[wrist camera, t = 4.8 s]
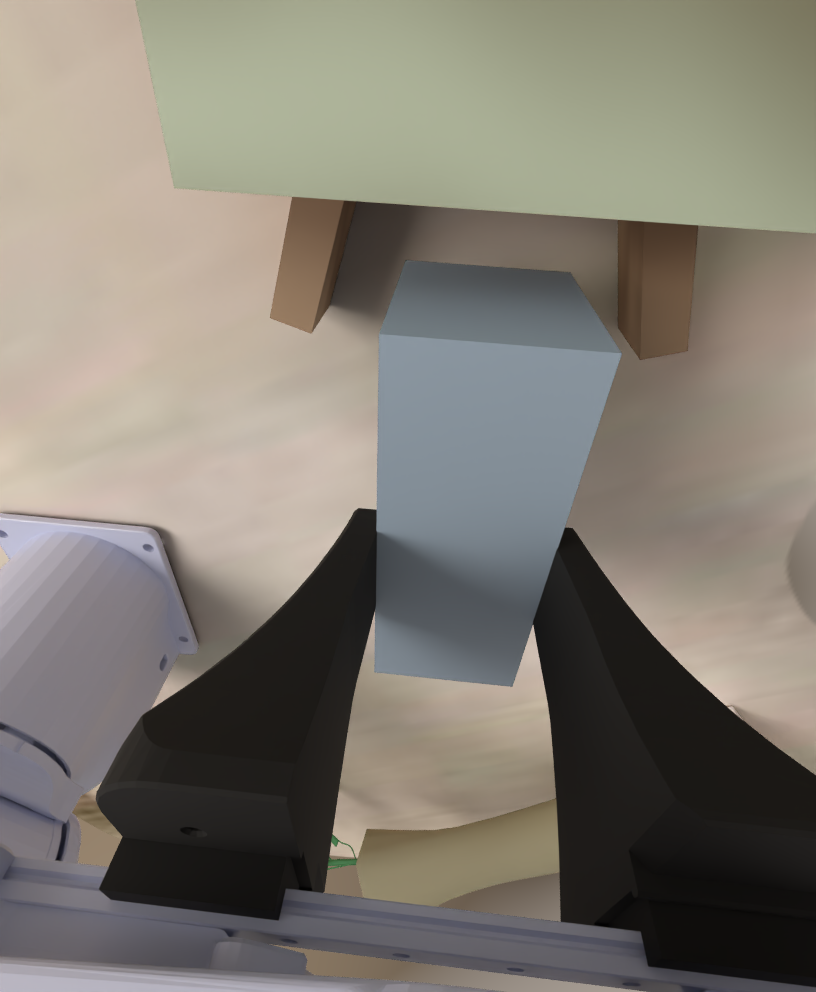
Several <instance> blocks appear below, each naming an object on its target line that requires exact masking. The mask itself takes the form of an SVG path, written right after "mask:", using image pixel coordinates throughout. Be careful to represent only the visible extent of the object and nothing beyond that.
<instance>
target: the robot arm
mask: <svg viewBox="0 0 816 992" xmlns="http://www.w3.org/2000/svg"><path fill="white" fill-rule="evenodd" d="M376 525H377V510H373V509H362V508H358V509H357V510H356V511H354V513H353V515H352V517H351V519H350V520H349V522H348V524H347V525H346V527H345V528H344V530H343V532H342V533H341V535H340V536H339V538H338V539H337V540H336V542H335V543H334V545H333V546H332V548H331V549H330V550H329V552H328V553H327V554H326V556H325V557H324V558H323V560H322V561H321V562H320V564H319V565H318V566H317V567H316V569H315V570H314V571H313V572H312V573H311V575H310V576H309V577H308V578H307V579H306V580H305V582H304V583H303V584H302V585H301V586H300V587H299V589H298V590H297V591H296V592H295V593H294V594H293V595H292V596H291V597H290V599H289V600H288V601H287V602H286V603H285V604H284V605H283V606H282V607H281V608H280V609H279V610H278V611H277V612H276V613H275V614H274V615H273V616H272V617H271V618H270V619H269V620H268V621H267V622H266V623H264V624H263V625H262V626H261V627H260V628H259V629H258V630H257V631H256V632H254V633H253V634H252V635H251V636H250V637H249V638H248V639H247V640H246V641H244V642H243V643H242V644H241V645H240V646H238V647H237V648H236V649H235V650H234V651H232V652H231V653H230V654H229V655H227V656H226V657H225V658H223V659H222V660H221V661H219V662H218V663H217V664H215V665H214V666H213V667H212V668H210V669H209V670H208V671H206V672H205V673H204V674H202V675H201V676H200V677H198V678H197V679H196V680H194V681H193V682H191V683H190V684H189V685H187V686H186V687H184V688H183V689H181V690H180V691H178V692H177V693H175V694H174V695H172V696H170V697H169V698H167V699H166V700H164V701H163V702H161V703H160V704H158V705H157V706H155V707H154V708H152V706H153V704H154V702H155V700H156V698H157V696H158V694H159V692H160V690H161V688H162V686H163V684H164V683H165V681H166V679H167V677H168V675H169V673H170V671H171V669H172V667H173V665H174V663H175V661H176V659H177V657H178V655H179V654H188V655H193V654H195V653H196V652H197V650H198V648H199V645H198V642H197V639H196V636H195V634H194V631H193V628H192V625H191V622H190V620H189V617H188V614H187V611H186V608H185V606H184V603H183V600H182V597H181V594H180V592H179V589H178V586H177V583H176V580H175V577H174V575H173V572H172V569H171V566H170V563H169V561H168V558H167V555H166V552H165V549H164V547H163V544H162V541H161V538H160V536H159V534H158V532H156V531H155V530H154V529H152V528H149V527H141V526H130V525H119V524H109V523H98V522H88V521H77V520H67V519H56V518H46V517H35V516H25V515H14V514H3V513H0V545H1V547H2V549H3V550H4V552H5V553H6V555H7V556H8V558H9V559H10V560H9V561H8V562H7V563H6V564H5V565H4V566H3V567H2V568H1V569H0V992H502V991H494V990H486V989H479V988H471V987H461V986H451V985H441V984H431V983H419V982H407V981H394V980H380V979H364V978H349V977H333V976H317V975H313V974H312V973H310V972H309V971H307V970H306V964H307V958H306V956H305V954H304V953H300V952H296V951H293V950H288V949H285V948H281V947H277V946H273V945H282V946H289V947H297V948H305V949H313V950H321V951H329V952H337V953H345V954H353V955H360V956H369V957H376V958H384V959H392V960H400V961H408V962H416V963H424V964H432V965H440V966H448V967H456V968H464V969H472V970H480V971H488V972H496V973H504V974H511V975H520V976H527V977H535V978H543V979H551V980H560V981H568V982H576V983H583V984H591V985H599V986H607V987H615V988H623V989H631V990H639V991H647V992H816V775H815V774H813V773H812V772H810V771H809V770H808V769H806V768H805V767H803V766H802V765H801V764H799V763H798V762H796V761H795V760H794V759H792V758H791V757H790V756H788V755H787V754H785V753H784V752H783V751H781V750H780V749H779V748H777V747H776V746H775V745H773V744H772V743H771V742H770V741H768V740H767V739H766V738H764V737H763V736H762V735H761V734H759V733H758V732H757V731H756V730H754V729H753V728H752V727H751V726H749V725H748V724H747V723H746V722H744V721H743V720H742V719H741V718H740V717H738V716H737V715H736V714H735V713H734V712H732V711H731V710H730V709H729V708H728V707H727V706H725V705H724V704H723V703H722V702H721V701H720V700H719V699H717V698H716V697H715V696H714V695H713V694H712V693H711V692H710V691H709V690H707V689H706V688H705V687H704V686H703V685H702V684H701V683H700V682H699V681H698V680H696V679H695V678H694V677H693V676H692V675H691V674H690V673H689V672H688V671H687V670H686V669H685V668H684V667H683V666H682V665H681V664H680V663H679V662H678V661H677V660H676V659H675V658H674V657H673V656H672V655H671V654H670V653H669V652H668V651H667V650H666V649H665V648H664V647H663V646H662V645H661V643H660V642H659V641H658V640H657V639H656V638H655V637H654V636H653V635H652V634H651V632H650V631H649V630H648V629H647V628H646V627H645V625H644V624H643V623H642V622H641V621H640V619H639V618H638V617H637V616H636V615H635V614H634V612H633V611H632V610H631V609H630V607H629V606H628V605H627V604H626V602H625V601H624V600H623V598H622V597H621V596H620V594H619V593H618V592H617V590H616V589H615V588H614V586H613V585H612V584H611V582H610V581H609V580H608V578H607V577H606V576H605V574H604V573H603V571H602V570H601V569H600V567H599V566H598V564H597V563H596V561H595V560H594V559H593V557H592V556H591V554H590V553H589V551H588V550H587V548H586V547H585V545H584V544H583V542H582V541H581V539H580V538H579V536H578V535H577V534H576V532H575V531H574V530H573V528H566V527H565V528H564V531H563V534H562V537H561V540H560V543H559V546H558V549H557V550H556V553H555V556H554V559H553V562H552V565H551V568H550V571H549V574H548V577H547V581H546V584H545V587H544V590H543V593H542V596H541V599H540V602H539V605H538V608H537V611H536V614H535V617H534V620H533V625H534V631H535V636H536V642H537V647H538V653H539V658H540V664H541V669H542V674H543V680H544V685H545V690H546V696H547V701H548V708H549V715H550V722H551V734H552V746H553V758H554V773H555V788H556V802H557V823H558V843H559V872H560V907H561V908H560V909H561V922H558V921H550V920H542V919H541V920H540V919H532V918H525V917H517V916H509V915H500V914H492V913H483V912H475V911H467V910H459V909H451V908H443V907H435V906H426V905H418V904H410V903H402V902H393V901H385V900H377V899H369V898H360V897H352V896H344V895H336V894H327V893H323V892H324V891H325V883H326V876H327V869H328V861H329V854H330V847H331V840H332V833H333V825H334V819H335V812H336V805H337V798H338V791H339V784H340V778H341V771H342V764H343V758H344V751H345V745H346V738H347V732H348V726H349V720H350V713H351V707H352V701H353V696H354V691H355V687H356V682H357V678H358V674H359V670H360V666H361V662H362V659H363V655H364V651H365V647H366V643H367V639H368V635H369V631H370V627H371V624H372V620H373V616H374V612H375V608H376V567H377V531H376ZM151 708H152V709H151ZM101 782H102V783H101ZM100 783H101V785H100V787H99V789H98V791H97V794H96V802H97V804H98V806H99V808H100V810H101V812H102V813H103V814H104V815H105V816H106V818H107V819H108V820H109V821H110V822H111V823H112V825H113V826H114V827H115V828H116V829H117V830H118V831H119V833H120V834H121V835H122V836H123V837H122V839H121V842H120V844H119V846H118V848H117V851H116V852H115V855H114V857H113V859H112V861H111V863H110V865H109V867H105V866H97V865H89V864H81V863H78V858H79V850H80V844H81V843H80V842H81V828H80V823H79V821H78V819H77V817H76V816H75V815H74V814H73V813H72V811H73V809H74V807H75V806H76V804H77V802H78V800H79V798H80V797H81V795H83V794H85V793H87V792H88V791H90V790H91V789H93V788H94V787H96V786H97V785H98V784H100ZM270 944H273V945H270Z"/></svg>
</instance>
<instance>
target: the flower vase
mask: <svg viewBox="0 0 816 992" xmlns="http://www.w3.org/2000/svg"><path fill="white" fill-rule="evenodd" d="M338 841H339V840H338V839H337V838H336V837H335V836H334V835H333V834H332V840H331V842H332V843H333V844H334V845H335V846H337V844H338ZM339 842H340V843H342V842H341V841H339ZM342 844H345V843H342ZM345 845H348V844H345ZM348 846H349V847H351V846H350V845H348ZM351 849H352V847H351ZM352 851H353V849H352ZM353 853H354V851H353ZM354 857H355V854H354ZM329 859H330V860H329V861H328V866H337V867H333V868H338V867H342V866H347V865H356V866H357V871H358V876H359V880H360V885H361V890H362V894H363V898H369V899H377V900H385V901H393V902H402V903H410V904H418V905H426V906H435V907H437V906H438V905H440V904H442V903H444V902H445V901H448V900H450V899H453V898H456V897H458V896H461V895H464V894H467V893H469V892H473V891H476V890H479V889H483V888H486V887H490V886H493V885H497V884H501V883H505V882H510V881H516V880H520V879H526V878H532V877H537V876H542V875H547V874H552V873H558V872H559V843H558V823H557V802H556V798H555V799H552V800H550V801H547V802H543V803H540V804H537V805H534V806H530V807H527V808H524V809H521V810H517V811H514V812H511V813H507V814H504V815H500V816H497V817H494V818H490V819H486V820H482V821H478V822H474V823H470V824H466V825H462V826H459V827H453V828H446V829H439V830H382V829H367V830H366V834H365V837H364V840H363V843H362V846H361V849H360V853H359V856H358V859H356V857H355V859H337V860H332V859H331V858H330V857H329ZM340 865H342V866H340ZM333 868H328V869H327V870H329V869H333Z"/></svg>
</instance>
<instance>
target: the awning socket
mask: <svg viewBox="0 0 816 992" xmlns="http://www.w3.org/2000/svg"><path fill="white" fill-rule="evenodd" d="M135 2H136V6H137V11H138V16H139V21H140V26H141V30H142V35H143V40H144V45H145V50H146V54H147V59H148V64H149V69H150V74H151V79H152V83H153V88H154V93H155V98H156V103H157V107H158V112H159V117H160V122H161V127H162V131H163V136H164V141H165V146H166V151H167V155H168V160H169V165H170V170H171V175H172V179H173V184H174V188H177V189H191V190H205V191H219V192H233V193H248V194H262V195H276V196H290V197H292V201H291V207H290V212H289V218H288V223H287V228H286V234H285V239H284V244H283V250H282V255H281V261H280V266H279V271H278V277H277V282H276V288H275V293H274V298H273V304H272V309H271V314H270V318H271V319H274V320H277V321H279V322H282V323H285V324H287V325H290V326H293V327H295V328H298V329H300V330H303V331H306V332H308V333H312V332H313V330H314V329H315V327H316V326H317V324H318V323H319V321H320V319H321V318H322V316H323V315H324V313H325V312H326V310H327V309H328V307H329V306H330V302H331V298H332V294H333V290H334V286H335V283H336V279H337V275H338V271H339V267H340V263H341V259H342V256H343V252H344V248H345V244H346V240H347V236H348V232H349V229H350V225H351V221H352V217H353V213H354V209H355V205H356V202H357V201H361V202H375V203H389V204H403V205H418V206H432V207H446V208H460V209H474V210H488V211H503V212H517V213H531V214H545V215H559V216H573V217H588V218H602V219H616V220H618V329H619V330H620V331H621V333H622V334H623V336H624V337H625V339H626V340H627V342H628V343H629V344H630V346H631V347H632V349H633V350H634V352H635V353H636V355H637V356H638V357H639V359H640V360H643V359H648V358H653V357H659V356H664V355H669V354H674V353H679V352H685V351H688V339H689V327H690V315H691V304H692V292H693V280H694V268H695V257H696V245H697V233H698V225H701V226H715V227H729V228H743V229H758V230H772V231H786V232H800V233H814V234H816V0H135Z"/></svg>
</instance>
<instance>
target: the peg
mask: <svg viewBox="0 0 816 992" xmlns="http://www.w3.org/2000/svg"><path fill="white" fill-rule="evenodd" d="M621 355H622V353H621V351H620V350H619V348H618V347H617V345H616V343H615V342H614V340H613V339H612V337H611V336H610V334H609V333H608V331H607V329H606V328H605V326H604V325H603V323H602V322H601V320H600V318H599V317H598V315H597V314H596V312H595V311H594V309H593V307H592V306H591V304H590V303H589V301H588V300H587V298H586V297H585V295H584V293H583V292H582V290H581V289H580V287H579V286H578V284H577V282H576V281H575V279H574V278H573V276H572V275H571V273H570V272H557V271H543V270H530V269H517V268H503V267H490V266H476V265H463V264H450V263H436V262H423V261H410V260H406V261H405V264H404V266H403V269H402V272H401V275H400V278H399V280H398V283H397V286H396V289H395V291H394V294H393V297H392V300H391V303H390V305H389V308H388V311H387V314H386V316H385V319H384V322H383V325H382V327H381V330H380V333H379V381H378V453H377V525H376V531H377V567H376V608H375V670H374V672H377V673H387V674H396V675H406V676H415V677H425V678H434V679H444V680H453V681H463V682H472V683H482V684H491V685H501V686H510V687H512V686H513V683H514V680H515V677H516V674H517V671H518V668H519V665H520V662H521V659H522V656H523V653H524V650H525V647H526V644H527V641H528V638H529V635H530V631H531V628H532V625H533V620H534V617H535V614H536V611H537V608H538V605H539V602H540V599H541V596H542V593H543V590H544V587H545V584H546V581H547V577H548V574H549V571H550V568H551V565H552V562H553V559H554V556H555V553H556V550H557V549H558V546H559V543H560V540H561V537H562V534H563V531H564V528H565V525H566V522H567V519H568V516H569V513H570V510H571V507H572V504H573V501H574V498H575V495H576V492H577V489H578V486H579V483H580V480H581V476H582V473H583V470H584V467H585V464H586V461H587V458H588V455H589V452H590V449H591V446H592V443H593V440H594V437H595V434H596V431H597V428H598V425H599V422H600V419H601V416H602V413H603V410H604V407H605V404H606V401H607V397H608V394H609V391H610V388H611V385H612V382H613V379H614V376H615V373H616V370H617V367H618V364H619V361H620V358H621Z"/></svg>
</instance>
